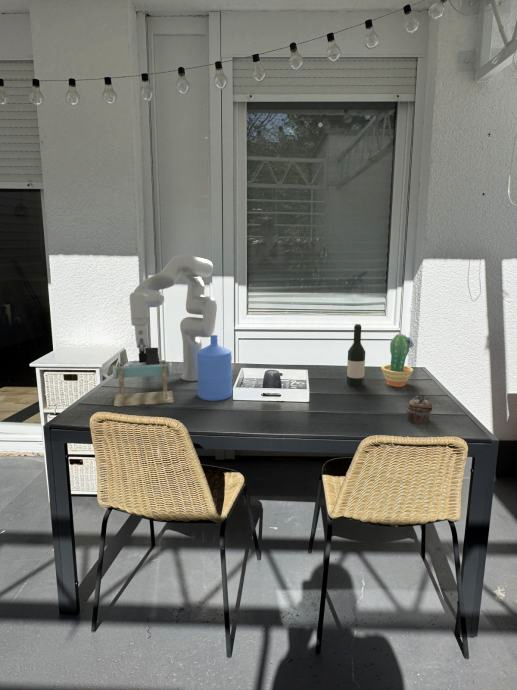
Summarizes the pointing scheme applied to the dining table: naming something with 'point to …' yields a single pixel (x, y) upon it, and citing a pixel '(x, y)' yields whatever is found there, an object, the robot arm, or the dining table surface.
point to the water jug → (214, 372)
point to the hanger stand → (142, 398)
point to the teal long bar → (142, 370)
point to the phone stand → (152, 356)
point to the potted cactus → (398, 361)
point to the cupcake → (419, 409)
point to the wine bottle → (356, 360)
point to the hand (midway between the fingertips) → (143, 359)
